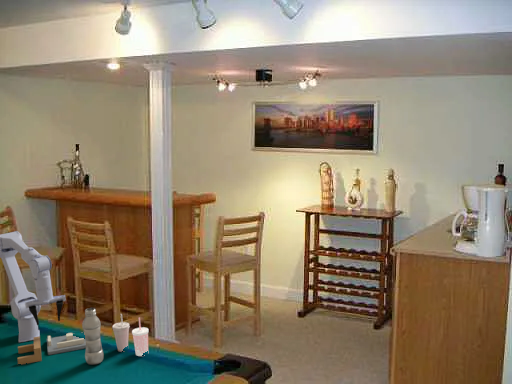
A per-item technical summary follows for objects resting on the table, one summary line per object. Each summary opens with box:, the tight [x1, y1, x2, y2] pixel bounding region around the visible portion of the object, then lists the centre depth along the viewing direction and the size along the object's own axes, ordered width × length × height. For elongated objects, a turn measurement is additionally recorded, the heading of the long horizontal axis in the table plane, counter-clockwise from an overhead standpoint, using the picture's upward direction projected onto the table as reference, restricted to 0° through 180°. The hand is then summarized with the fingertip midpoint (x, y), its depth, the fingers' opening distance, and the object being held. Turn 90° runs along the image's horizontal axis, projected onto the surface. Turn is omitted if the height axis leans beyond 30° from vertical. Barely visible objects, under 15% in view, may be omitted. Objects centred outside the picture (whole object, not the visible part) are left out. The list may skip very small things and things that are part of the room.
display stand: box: [46, 332, 86, 356], centre depth 224 cm, size 14×17×3 cm
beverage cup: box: [131, 316, 149, 357], centre depth 212 cm, size 6×6×14 cm
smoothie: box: [112, 313, 131, 353], centre depth 216 cm, size 6×6×14 cm
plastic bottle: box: [81, 307, 104, 366], centre depth 205 cm, size 6×7×20 cm
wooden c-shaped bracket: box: [17, 335, 43, 365], centre depth 214 cm, size 8×12×5 cm, turn 22°
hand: (48, 322), depth 221 cm, fingers open, 7 cm apart
